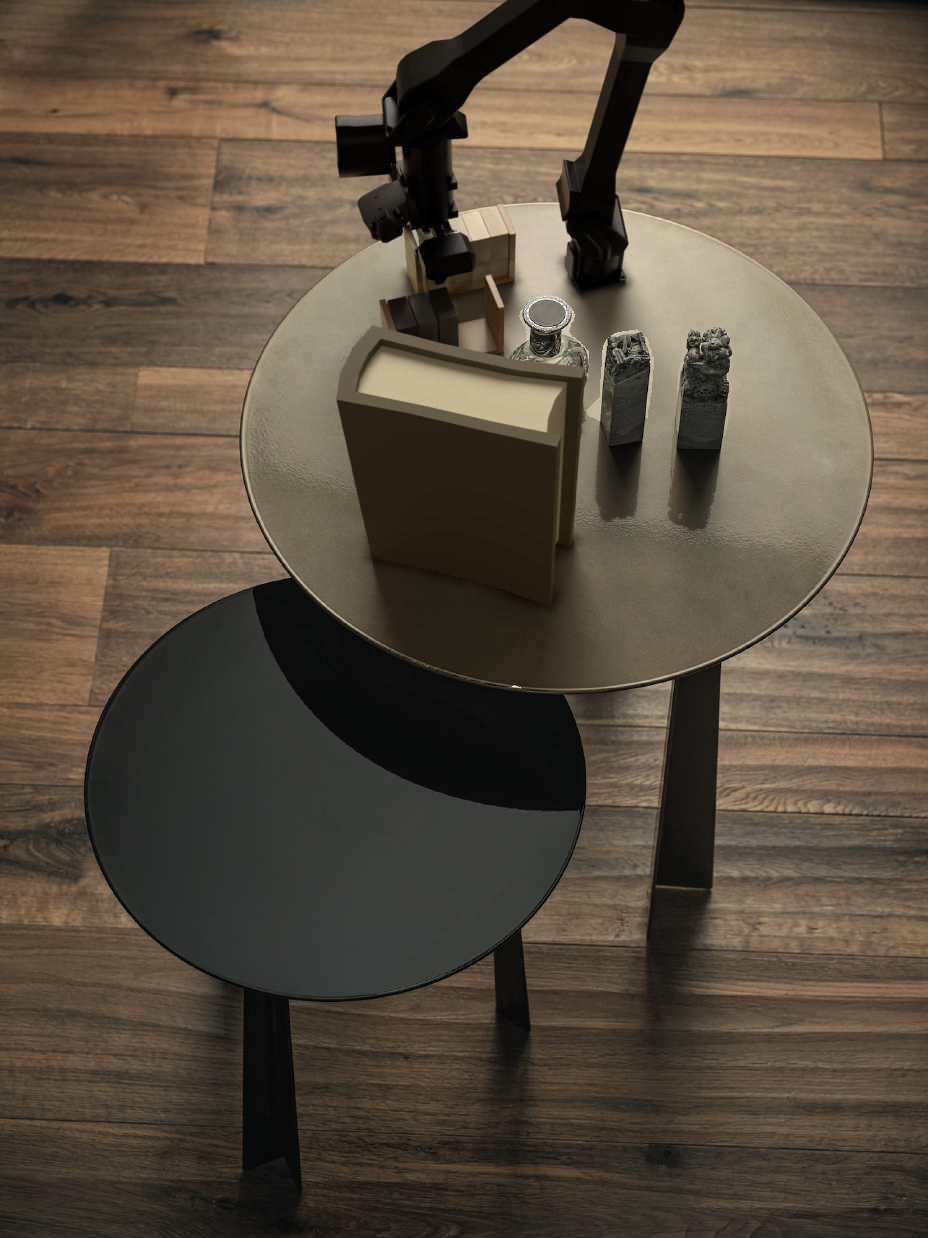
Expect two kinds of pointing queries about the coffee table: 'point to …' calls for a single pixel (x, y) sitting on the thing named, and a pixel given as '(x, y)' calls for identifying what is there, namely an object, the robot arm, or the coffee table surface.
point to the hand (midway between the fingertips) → (433, 268)
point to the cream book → (430, 283)
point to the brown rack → (490, 246)
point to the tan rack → (447, 319)
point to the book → (463, 458)
